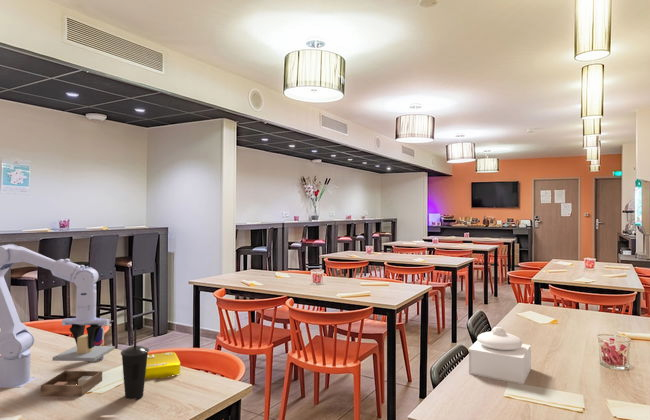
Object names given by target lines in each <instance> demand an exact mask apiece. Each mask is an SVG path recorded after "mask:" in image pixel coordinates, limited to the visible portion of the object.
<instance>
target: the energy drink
mask: <svg viewBox="0 0 650 420" xmlns="http://www.w3.org/2000/svg"><path fill="white" fill-rule="evenodd" d="M94 346H105V328H104V326H102V327H101V329H100V331H99V332H98V335H97V337H96V340H95V344H94ZM104 356H105V355H104ZM104 356H102V357H101V358H99V359H97V360H95V361H89V362H88V363H97V362H96V361H99V362H101V361H103V360H104V358H105V357H104ZM102 359H103V360H102ZM100 360H101V361H100Z"/></svg>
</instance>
